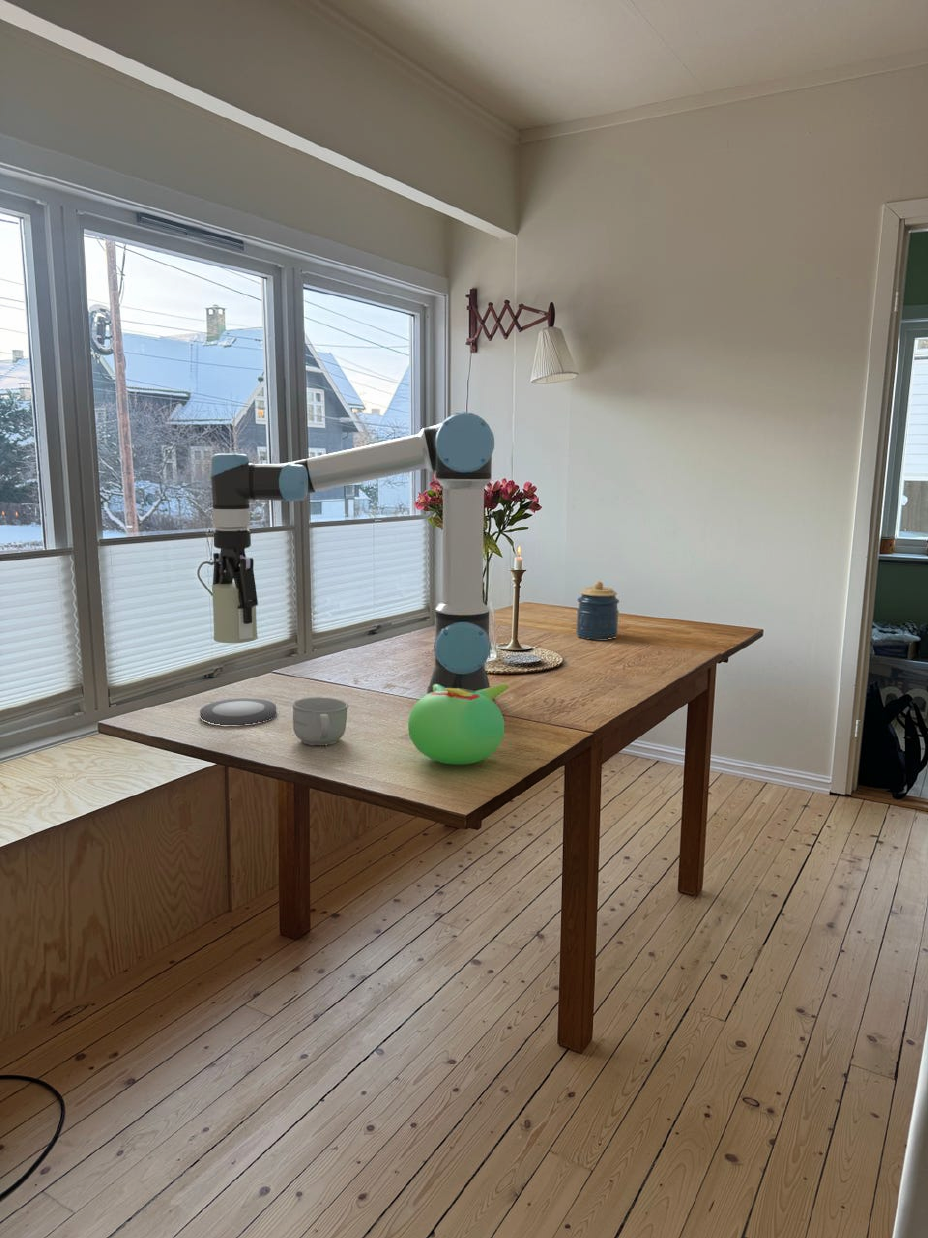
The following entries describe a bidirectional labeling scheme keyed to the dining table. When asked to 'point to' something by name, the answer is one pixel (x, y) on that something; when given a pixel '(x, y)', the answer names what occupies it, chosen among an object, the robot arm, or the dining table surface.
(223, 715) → the pad
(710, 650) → the dining table surface
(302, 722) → the teacup
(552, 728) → the dining table surface
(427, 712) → the green round lump
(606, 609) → the canister
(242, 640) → the can
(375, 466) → the robot arm
